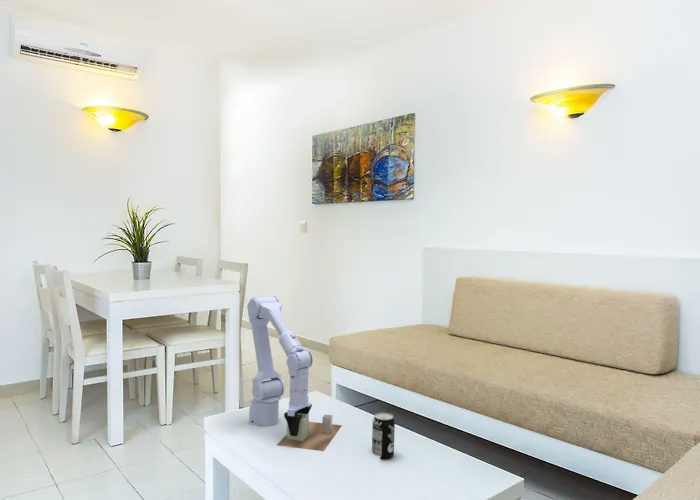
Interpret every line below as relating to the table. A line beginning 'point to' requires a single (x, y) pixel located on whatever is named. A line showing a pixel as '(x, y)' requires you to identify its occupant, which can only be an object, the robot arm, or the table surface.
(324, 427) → the post
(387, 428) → the beverage can
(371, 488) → the table surface
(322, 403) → the table surface
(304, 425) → the green slotted cube
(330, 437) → the board
